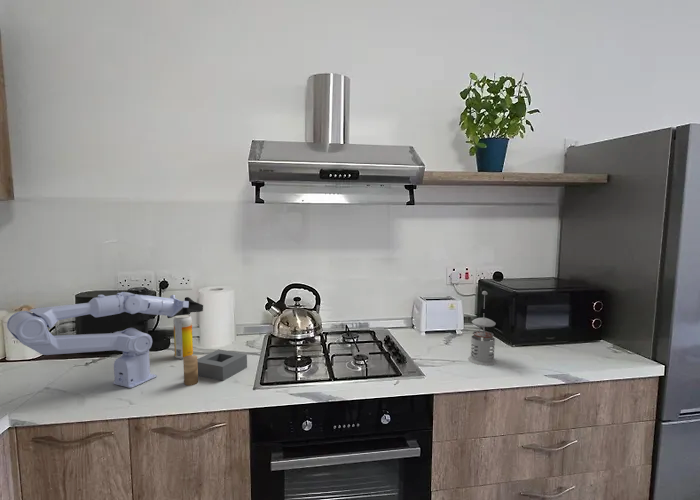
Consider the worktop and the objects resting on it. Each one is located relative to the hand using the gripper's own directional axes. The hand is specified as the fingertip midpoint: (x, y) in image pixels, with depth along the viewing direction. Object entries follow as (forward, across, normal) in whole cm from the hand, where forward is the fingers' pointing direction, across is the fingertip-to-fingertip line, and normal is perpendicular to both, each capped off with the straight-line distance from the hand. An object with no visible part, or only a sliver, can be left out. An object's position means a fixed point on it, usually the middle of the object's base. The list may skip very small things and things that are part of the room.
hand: (195, 309), depth 142 cm
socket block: (+5, -8, +21) cm, 23 cm away
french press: (+69, -73, +21) cm, 102 cm away
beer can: (+4, +13, +15) cm, 20 cm away
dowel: (-5, -8, +24) cm, 26 cm away
